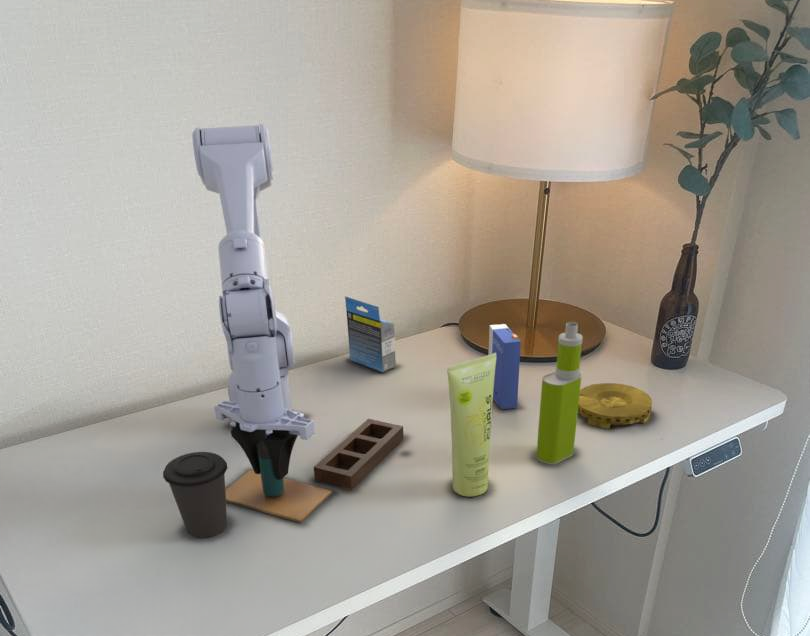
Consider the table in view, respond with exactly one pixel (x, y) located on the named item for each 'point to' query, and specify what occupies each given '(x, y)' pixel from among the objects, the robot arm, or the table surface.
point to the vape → (560, 400)
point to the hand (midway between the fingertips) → (271, 473)
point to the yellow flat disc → (614, 404)
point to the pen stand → (356, 461)
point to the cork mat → (276, 497)
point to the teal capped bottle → (268, 472)
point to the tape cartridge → (370, 336)
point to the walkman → (505, 365)
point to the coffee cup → (199, 492)
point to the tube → (471, 423)
